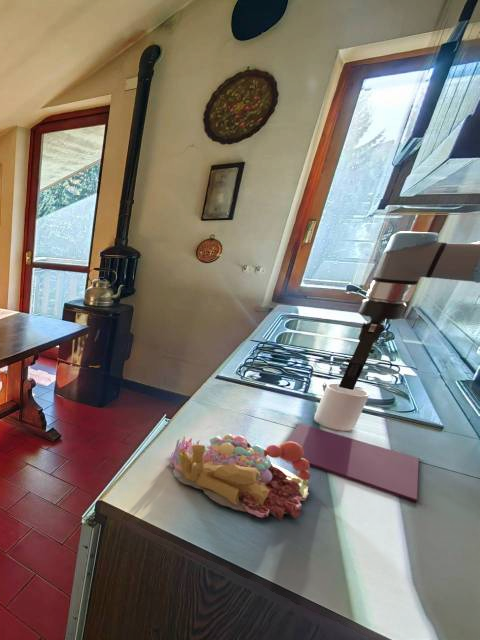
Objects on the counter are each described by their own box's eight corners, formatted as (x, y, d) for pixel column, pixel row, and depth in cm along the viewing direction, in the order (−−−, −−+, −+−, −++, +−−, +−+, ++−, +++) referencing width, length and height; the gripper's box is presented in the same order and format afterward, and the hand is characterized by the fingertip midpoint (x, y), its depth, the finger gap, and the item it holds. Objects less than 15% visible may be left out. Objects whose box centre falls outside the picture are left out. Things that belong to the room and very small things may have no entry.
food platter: (296, 541, 65) (316, 497, 62) (153, 480, 80) (163, 442, 77) (311, 478, 82) (327, 440, 79) (190, 437, 97) (200, 404, 94)
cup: (311, 423, 105) (325, 389, 101) (315, 410, 113) (328, 377, 109) (353, 434, 100) (369, 399, 96) (354, 419, 108) (369, 386, 104)
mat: (417, 460, 89) (419, 458, 89) (415, 502, 75) (417, 499, 75) (298, 425, 104) (299, 423, 104) (278, 454, 90) (279, 452, 90)
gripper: (369, 292, 104) (337, 367, 112) (358, 304, 88) (322, 389, 97) (409, 297, 99) (373, 374, 107) (405, 309, 83) (363, 399, 92)
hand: (349, 381), depth 102 cm, fingers open, 13 cm apart
